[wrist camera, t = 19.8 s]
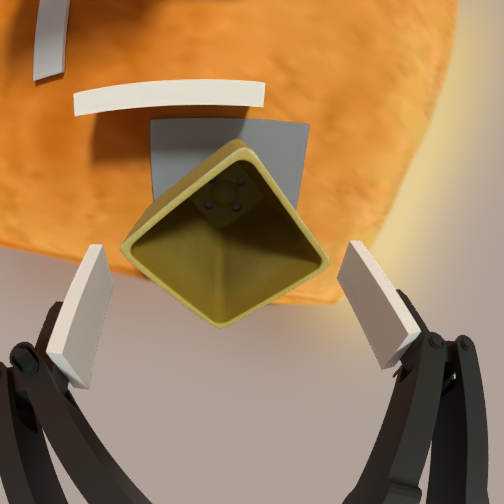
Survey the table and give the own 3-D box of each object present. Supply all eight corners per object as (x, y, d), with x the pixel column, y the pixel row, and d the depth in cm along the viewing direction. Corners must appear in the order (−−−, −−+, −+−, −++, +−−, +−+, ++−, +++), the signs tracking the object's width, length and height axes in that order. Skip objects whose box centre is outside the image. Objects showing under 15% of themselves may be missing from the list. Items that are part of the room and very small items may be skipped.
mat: (160, 249, 25) (159, 253, 25) (151, 118, 18) (149, 120, 18) (286, 248, 27) (288, 252, 27) (307, 123, 20) (309, 125, 20)
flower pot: (146, 185, 21) (114, 251, 14) (233, 115, 19) (247, 143, 11) (215, 253, 26) (218, 332, 18) (296, 199, 23) (334, 265, 16)
